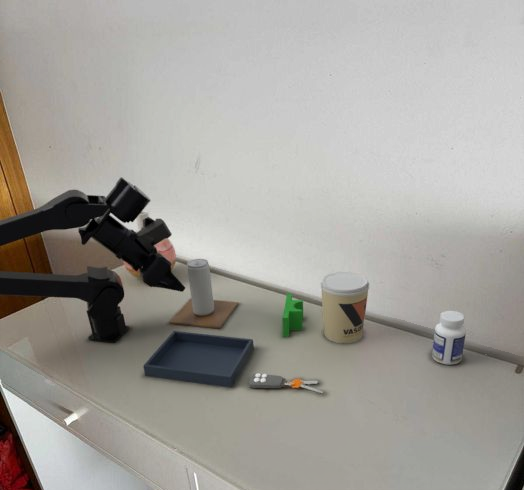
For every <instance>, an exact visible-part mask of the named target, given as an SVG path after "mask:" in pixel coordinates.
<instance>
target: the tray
mask: <svg viewBox="0 0 524 490" xmlns="http://www.w3.org/2000/svg"><path fill="white" fill-rule="evenodd" d="M254 348H255V347H254V339H253V338H244V337H235V336H227V335H215V334H207V333H198V332H188V331H179V330H173V331H172V332H171V333H170V335H169V336H168V337H167V338H166V339H165V340H164V341H163V342H162V344H161V345H160V346H159V347H158V348H157V350H155V351H154V353H152V355H151V356H150V357H149V358H148V360H147V361H146V362H145V363H144V364H143V366H142V367H143V370H144V371H143V372H144V376H145V377H150V378H159V379H164V380H165V379H166V380H173V381H181V382H186V383H187V382H188V383H195V384H203V385H210V386H216V387H217V386H218V387H224V388H232V387H233V386H234V384H235V383H236V381H237V379H238V377H239V376H240V374H241V372H242V370H243V368H244V367H245V365H246V364H247V362H248V360H249V358H250V356H251V355H252V353H253V351H254Z"/></svg>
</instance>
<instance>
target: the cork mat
mask: <svg viewBox="0 0 524 490" xmlns="http://www.w3.org/2000/svg"><path fill="white" fill-rule="evenodd" d="M213 303H214V311H213V312H212V313H211V314H209V315H206V316H199V315H196V314H195V313H194V312H193V307H192V299H191V298H190V299H189V300H188V301H187V302H186V303H185V305H183V307H182V308H180V310H179V311H178V312H177V313H176V314H175V315H174V316H173V317H172V318H171V319H170V321H169V324H172V325H179V326H187V327H190V326H191V327H200V328H209V329H219V330H221V328H222V327H223V326H224V324H225V323H226V321H227V320H228V319H229V317H230V316H231V315H232V313H233V312H234V310H235V309H236V308H237V307H238V305H239V302H238V301H228V300H227V301H226V300H217V299H216V300H215V299H213Z"/></svg>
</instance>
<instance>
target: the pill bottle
mask: <svg viewBox="0 0 524 490" xmlns="http://www.w3.org/2000/svg"><path fill="white" fill-rule="evenodd" d="M464 323H465V316H464V314H463V313H461V312H459V311H456V310H445V311H443V312H442V313H440V317H439V323H437V324H436V325H435V328H434V335H433V342H432V350H431V356H432V359H433V360H434V361H435V362H437V363H439V364H443V365H448V366H450V365H451V366H452V365H456V364H459V363H460V362H462V360H463V352H464V347H465V340H466V336H467V329H466V327H465V325H464Z"/></svg>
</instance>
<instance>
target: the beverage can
mask: <svg viewBox="0 0 524 490" xmlns="http://www.w3.org/2000/svg"><path fill="white" fill-rule="evenodd" d="M186 270H187V277H188V278H187V279H188V285H189V292H190V299H192V307H193V312H194V313H195V314H196V315H199V316H206V315H209V314H211V313H212V312H213V311H214V303H213V300H214V296H213V286H212V277H211V270H210V263H209V261H208V259H205V258H193V259H191V260H188V261H187V263H186Z"/></svg>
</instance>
